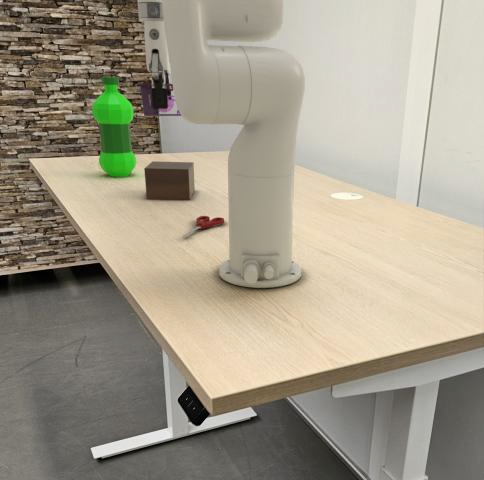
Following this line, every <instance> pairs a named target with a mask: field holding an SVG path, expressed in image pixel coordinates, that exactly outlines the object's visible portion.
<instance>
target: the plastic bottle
mask: <svg viewBox="0 0 484 480" xmlns="http://www.w3.org/2000/svg"><path fill="white" fill-rule="evenodd" d="M101 85H103V86H104V91H103V92H102V93H101V94H100V95H99V96H98V97H97V98H96V99H95V101H93V104H92V106H91V111H92V117H93V120H95V122H96V123H98V129H99V130H98V131H99V139H100V147H101V152H100V154H99V156H98V164H99V166H100V169H101V170H103V171H104V173H106V174H108V176H110V177H112V178H113V177H114V178H122V177H123V178H124V177H129V176H130V174H131V172H133V171H134V170H135V168H136V165H137V157H136V155H135V154H134V152H133V147H132V137H131V136H132V135H131V126H130V125H131V122H132V121H133V119H134V116H135V115H134V114H135V113H134V107H133V105H132V103H131V101H129V99H127V98H126V96H124V95H123V94H122V93H121V92H119V90H118V86H119V85H120V78H119V77H118V76H101Z"/></svg>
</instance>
